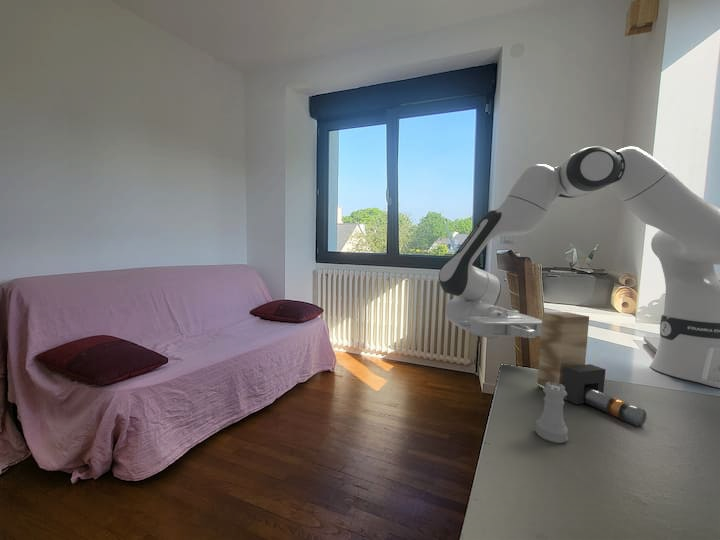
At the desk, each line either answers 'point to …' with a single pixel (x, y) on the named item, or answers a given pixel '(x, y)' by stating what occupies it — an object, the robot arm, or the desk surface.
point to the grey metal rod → (615, 406)
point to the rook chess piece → (553, 415)
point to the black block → (582, 381)
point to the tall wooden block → (561, 345)
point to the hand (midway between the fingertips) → (531, 334)
